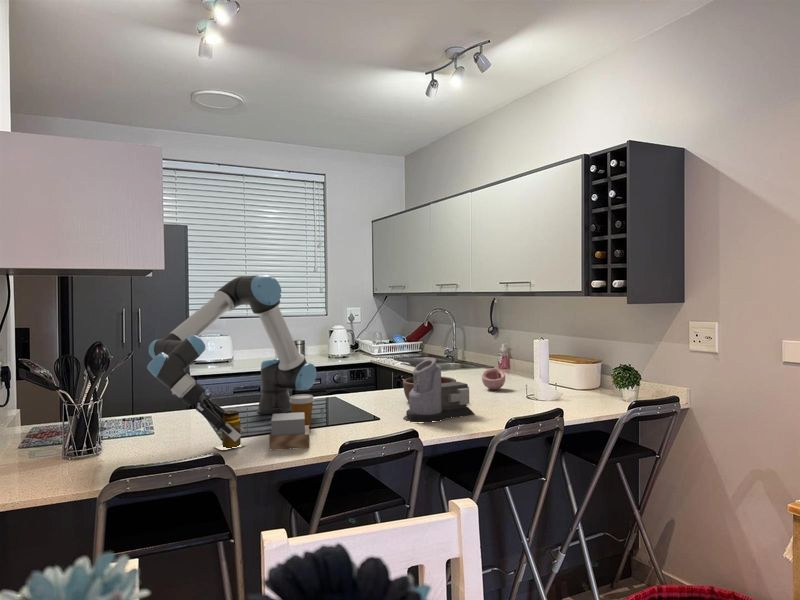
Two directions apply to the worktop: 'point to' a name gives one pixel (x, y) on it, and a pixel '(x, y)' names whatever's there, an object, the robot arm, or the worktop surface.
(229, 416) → the condiment
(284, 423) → the grey square block
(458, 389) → the juicer
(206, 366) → the worktop surface
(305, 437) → the walnut base block
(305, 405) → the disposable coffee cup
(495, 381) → the mortar and pestle
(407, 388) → the wooden bowl
